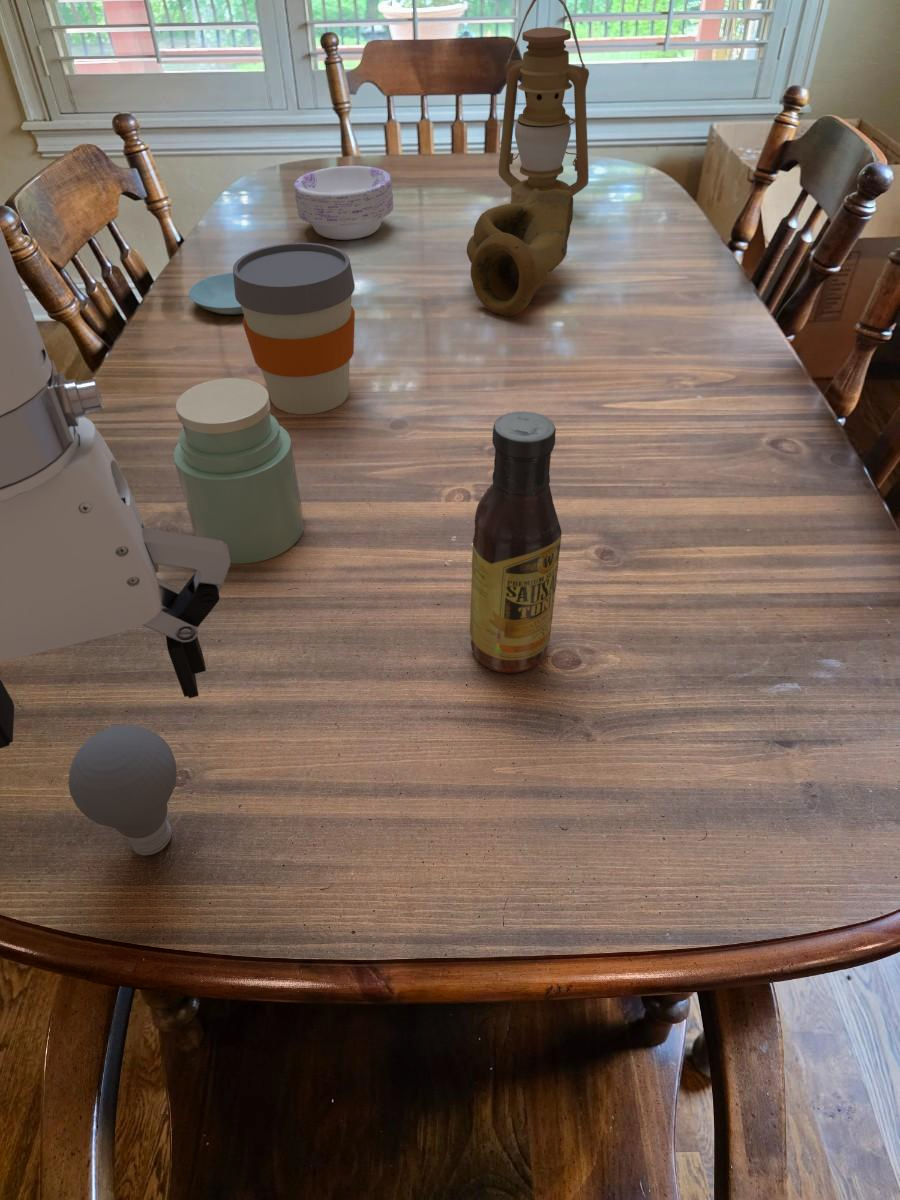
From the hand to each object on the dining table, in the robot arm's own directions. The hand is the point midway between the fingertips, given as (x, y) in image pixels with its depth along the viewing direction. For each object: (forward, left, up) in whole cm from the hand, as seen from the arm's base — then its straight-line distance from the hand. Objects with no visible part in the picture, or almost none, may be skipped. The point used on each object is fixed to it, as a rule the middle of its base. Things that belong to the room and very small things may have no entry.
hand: (100, 703), depth 47 cm
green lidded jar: (-14, +30, -13) cm, 36 cm away
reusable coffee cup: (-23, +54, -14) cm, 60 cm away
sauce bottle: (+14, +26, -14) cm, 32 cm away
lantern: (-22, +123, -14) cm, 125 cm away
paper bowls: (-47, +102, -14) cm, 113 cm away
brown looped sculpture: (-14, +94, -14) cm, 96 cm away
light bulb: (0, 0, -14) cm, 14 cm away
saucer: (-46, +71, -14) cm, 86 cm away
